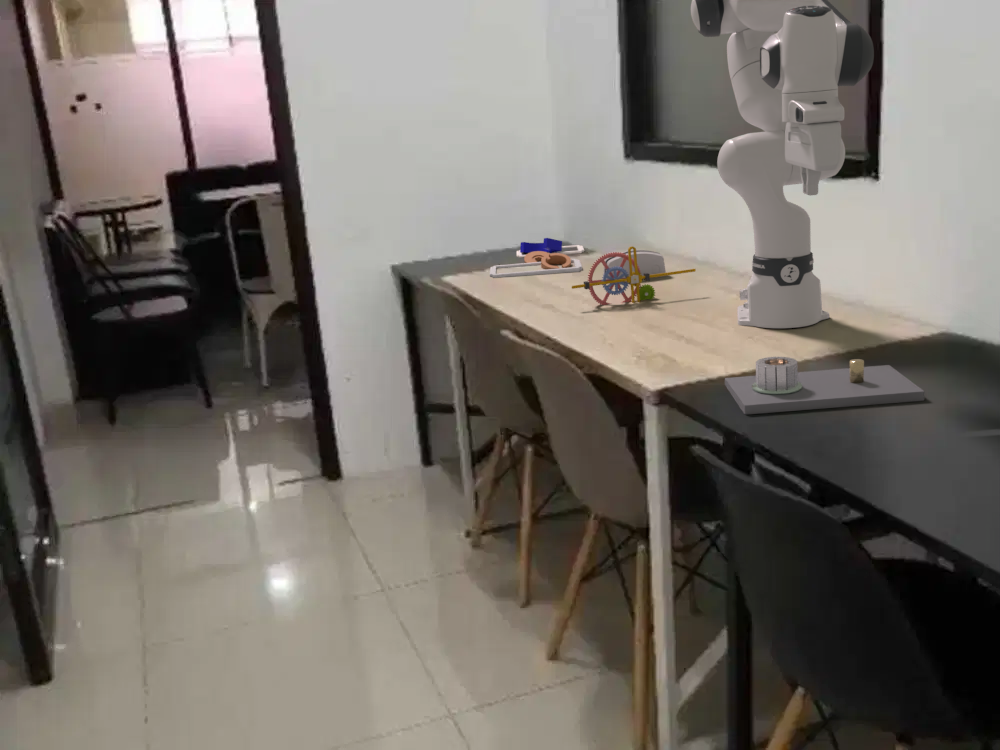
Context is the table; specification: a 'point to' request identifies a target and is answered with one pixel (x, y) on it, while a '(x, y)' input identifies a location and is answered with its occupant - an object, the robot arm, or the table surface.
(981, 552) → the table surface
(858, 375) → the stand rod
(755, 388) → the post
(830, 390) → the board
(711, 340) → the table surface
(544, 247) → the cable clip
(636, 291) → the mechanical gear assembly
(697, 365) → the table surface
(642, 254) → the grey rounded block
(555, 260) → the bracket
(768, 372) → the steel ring
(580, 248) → the bin
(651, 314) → the table surface
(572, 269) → the bin
